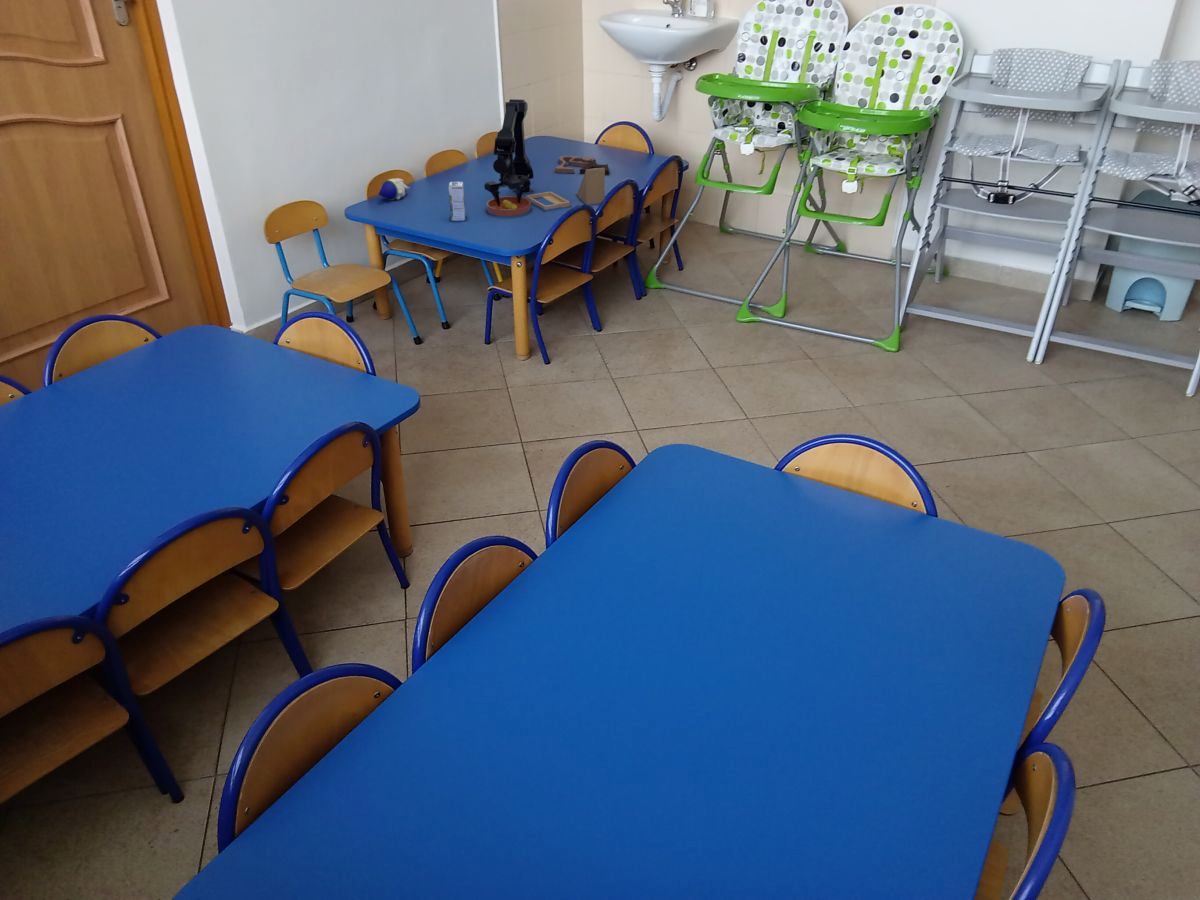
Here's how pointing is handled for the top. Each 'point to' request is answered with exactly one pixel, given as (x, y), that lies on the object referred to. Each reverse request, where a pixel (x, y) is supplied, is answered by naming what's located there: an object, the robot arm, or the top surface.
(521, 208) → the bowl
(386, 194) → the cartoon head
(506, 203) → the banana
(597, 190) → the sandwich container
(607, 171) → the wood carving
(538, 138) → the top surface
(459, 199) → the syrup box
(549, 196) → the tray
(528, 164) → the robot arm
